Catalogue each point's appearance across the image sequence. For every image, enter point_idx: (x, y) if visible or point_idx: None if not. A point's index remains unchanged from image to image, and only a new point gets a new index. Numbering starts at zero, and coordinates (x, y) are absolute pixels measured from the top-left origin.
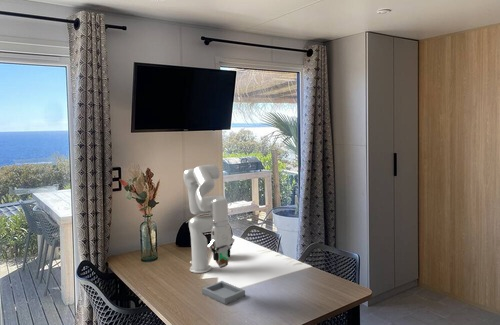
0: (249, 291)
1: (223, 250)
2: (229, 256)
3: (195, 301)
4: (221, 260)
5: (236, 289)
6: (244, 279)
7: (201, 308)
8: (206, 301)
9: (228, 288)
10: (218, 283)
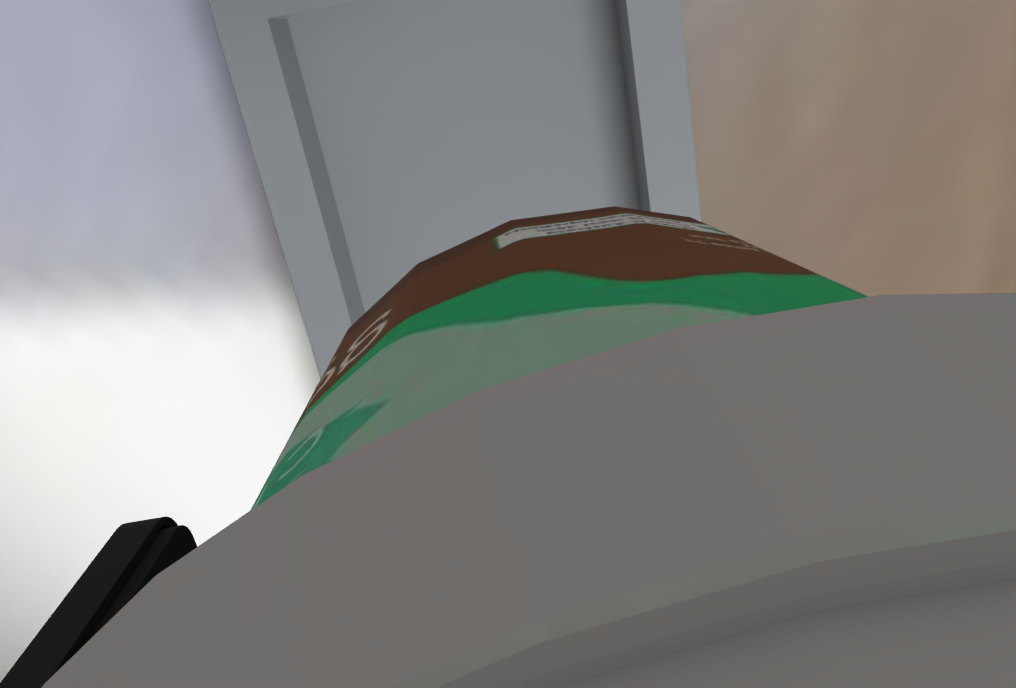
0: (99, 98)
1: (868, 412)
2: (158, 530)
3: (900, 264)
4: (728, 257)
5: (301, 131)
6: (12, 493)
7: (979, 4)
8: (791, 175)
9: (361, 309)
10: None
